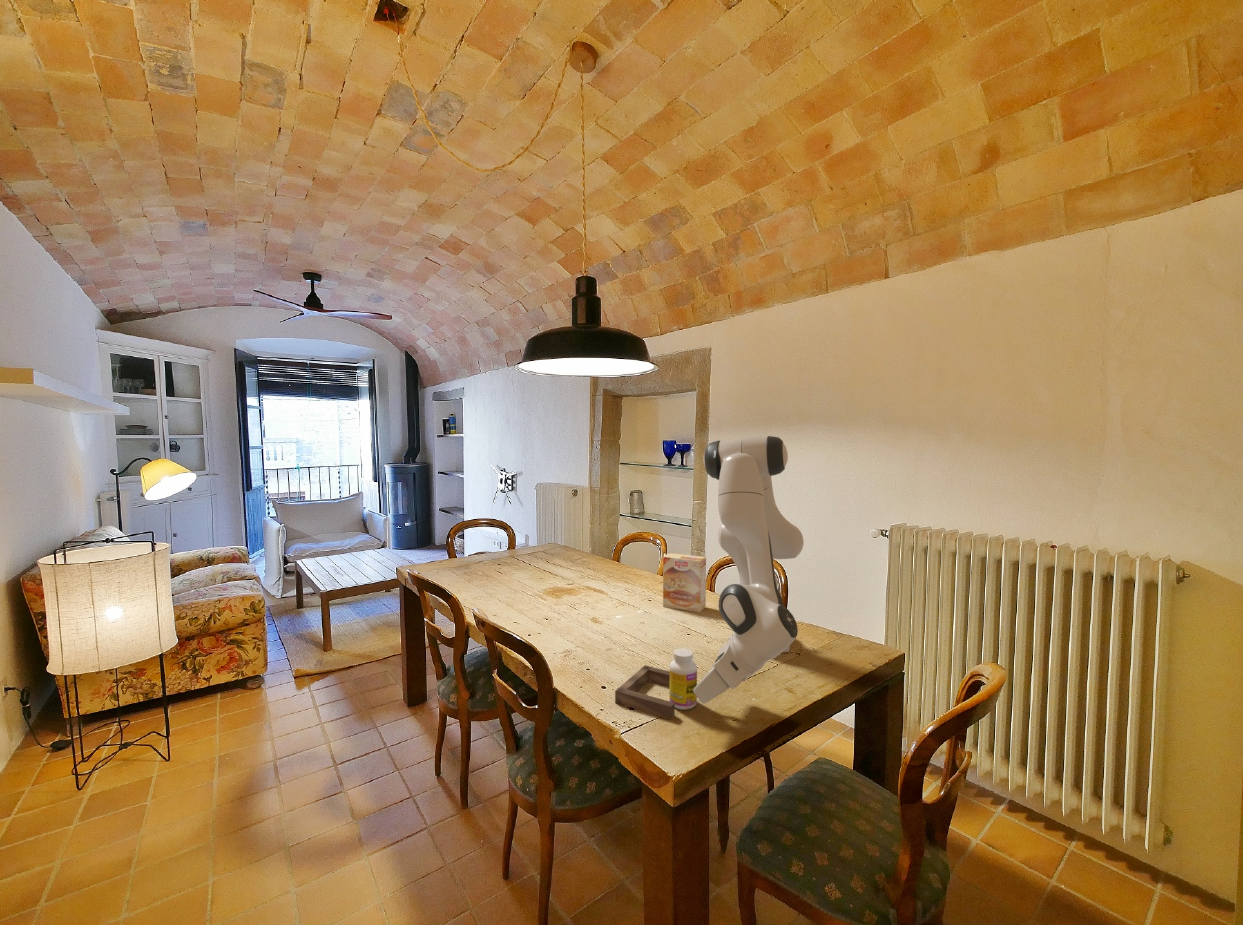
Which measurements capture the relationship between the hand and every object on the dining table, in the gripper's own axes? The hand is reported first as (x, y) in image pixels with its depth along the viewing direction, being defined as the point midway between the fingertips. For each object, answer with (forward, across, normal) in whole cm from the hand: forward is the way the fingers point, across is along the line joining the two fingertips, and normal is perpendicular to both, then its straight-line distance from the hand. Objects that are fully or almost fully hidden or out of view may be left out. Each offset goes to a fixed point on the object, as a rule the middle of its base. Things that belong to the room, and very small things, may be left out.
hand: (698, 690), depth 124 cm
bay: (+10, 0, -4) cm, 11 cm away
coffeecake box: (+25, -65, -19) cm, 72 cm away
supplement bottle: (+6, 0, 0) cm, 6 cm away
